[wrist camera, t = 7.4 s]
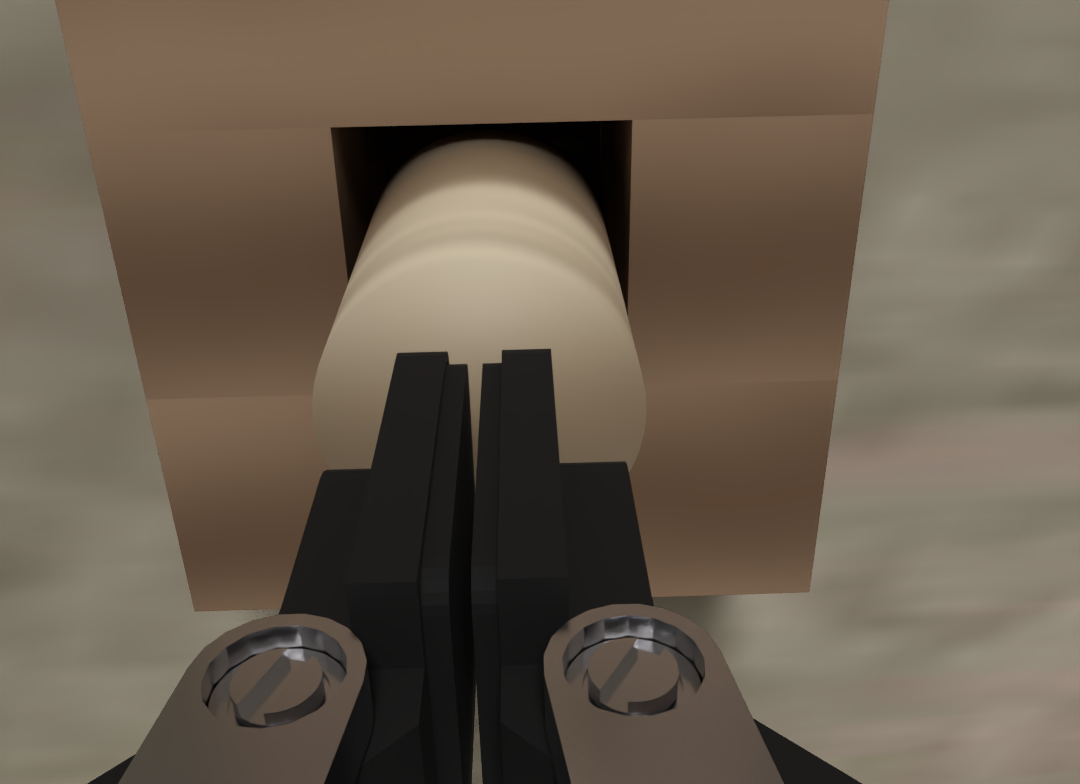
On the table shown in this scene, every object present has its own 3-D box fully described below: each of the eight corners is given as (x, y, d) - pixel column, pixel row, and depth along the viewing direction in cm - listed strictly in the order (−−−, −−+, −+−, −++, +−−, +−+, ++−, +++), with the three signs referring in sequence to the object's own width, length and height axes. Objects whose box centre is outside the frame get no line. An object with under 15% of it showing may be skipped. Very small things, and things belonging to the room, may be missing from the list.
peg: (358, 133, 16) (291, 266, 11) (607, 127, 17) (652, 257, 11) (381, 356, 18) (332, 556, 13) (605, 350, 18) (641, 547, 13)
